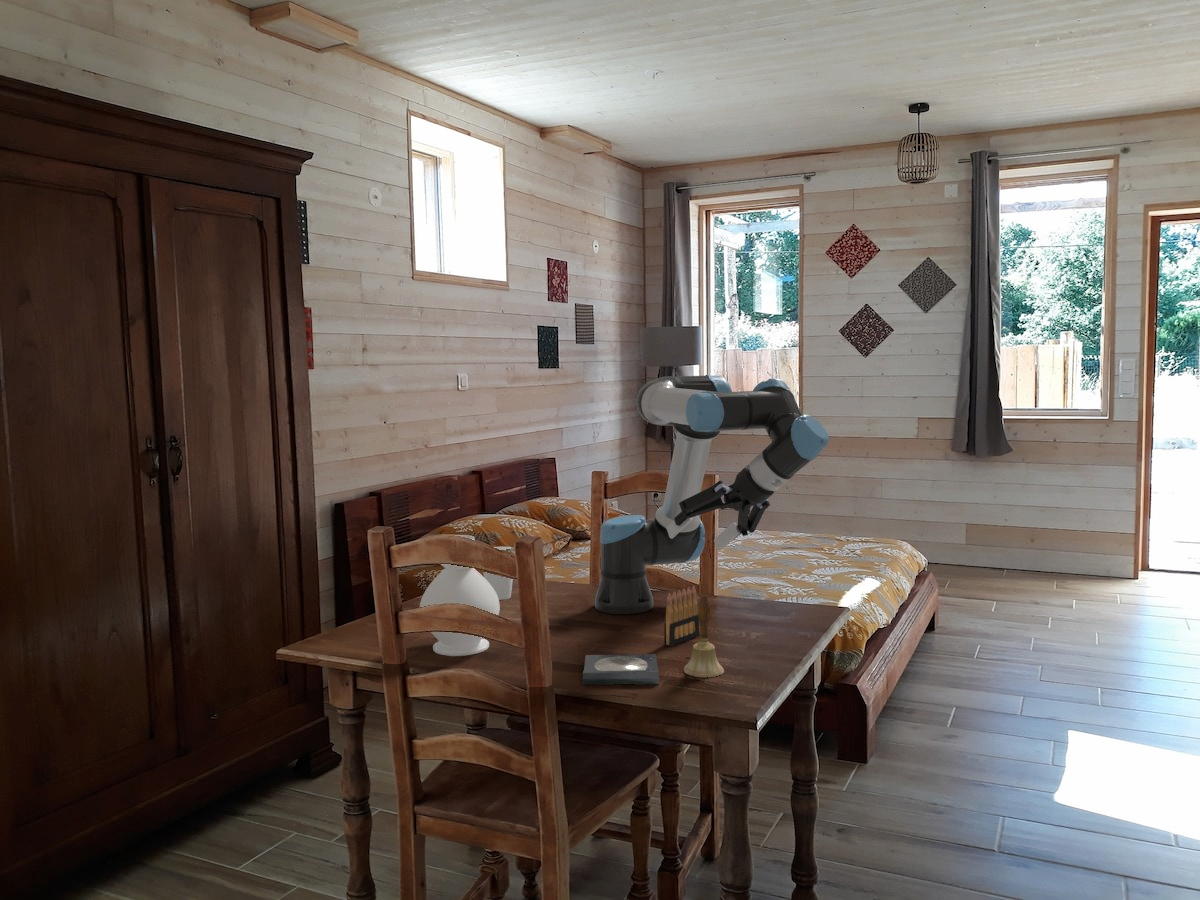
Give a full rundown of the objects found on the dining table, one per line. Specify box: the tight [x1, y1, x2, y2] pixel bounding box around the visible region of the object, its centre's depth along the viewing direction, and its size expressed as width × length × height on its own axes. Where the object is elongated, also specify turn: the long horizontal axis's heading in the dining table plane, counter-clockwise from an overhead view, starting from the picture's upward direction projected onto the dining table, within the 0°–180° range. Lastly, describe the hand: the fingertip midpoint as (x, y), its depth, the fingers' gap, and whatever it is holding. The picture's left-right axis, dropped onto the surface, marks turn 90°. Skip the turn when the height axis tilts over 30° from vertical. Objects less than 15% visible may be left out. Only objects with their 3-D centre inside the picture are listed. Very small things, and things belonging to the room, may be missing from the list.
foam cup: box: [482, 546, 514, 601], centre depth 253 cm, size 10×9×13 cm
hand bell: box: [683, 594, 725, 679], centre depth 190 cm, size 8×8×16 cm
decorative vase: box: [419, 534, 501, 657], centre depth 208 cm, size 18×18×25 cm
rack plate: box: [582, 653, 660, 686], centre depth 191 cm, size 15×15×2 cm
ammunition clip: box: [663, 585, 700, 647], centre depth 211 cm, size 11×2×12 cm, turn 136°
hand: (693, 539), depth 193 cm, fingers open, 13 cm apart
